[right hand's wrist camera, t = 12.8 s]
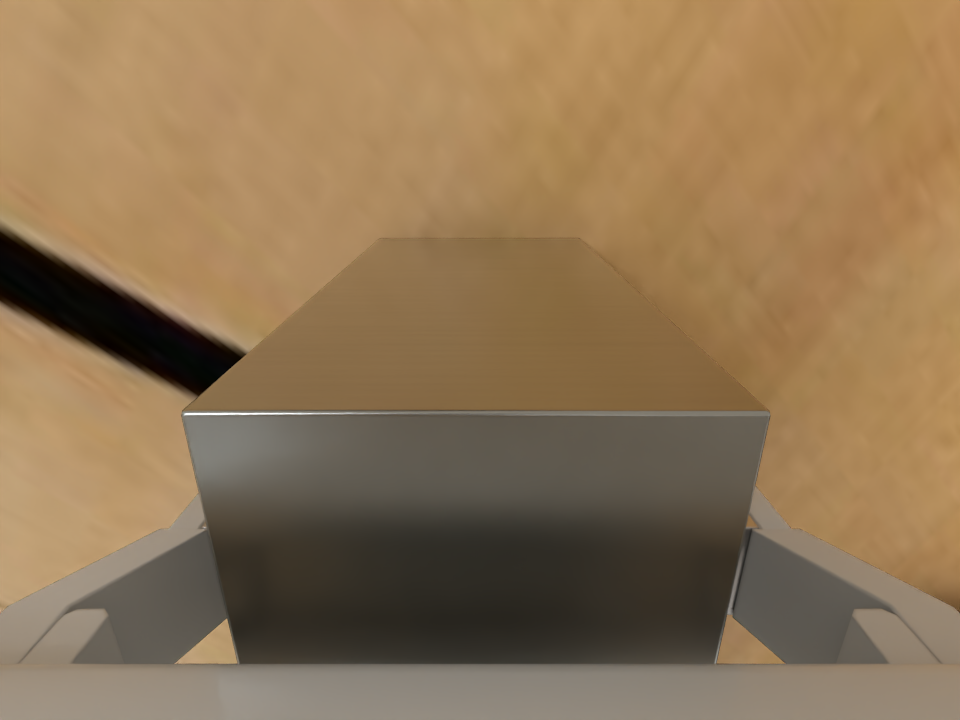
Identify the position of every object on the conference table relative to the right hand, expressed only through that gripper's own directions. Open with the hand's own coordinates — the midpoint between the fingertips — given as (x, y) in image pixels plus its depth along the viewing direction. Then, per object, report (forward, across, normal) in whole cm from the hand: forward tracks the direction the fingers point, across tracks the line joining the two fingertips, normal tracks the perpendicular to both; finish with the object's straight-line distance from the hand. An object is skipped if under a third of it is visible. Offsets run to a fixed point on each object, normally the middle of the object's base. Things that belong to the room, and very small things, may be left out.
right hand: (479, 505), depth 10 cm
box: (+8, 0, +8) cm, 11 cm away
